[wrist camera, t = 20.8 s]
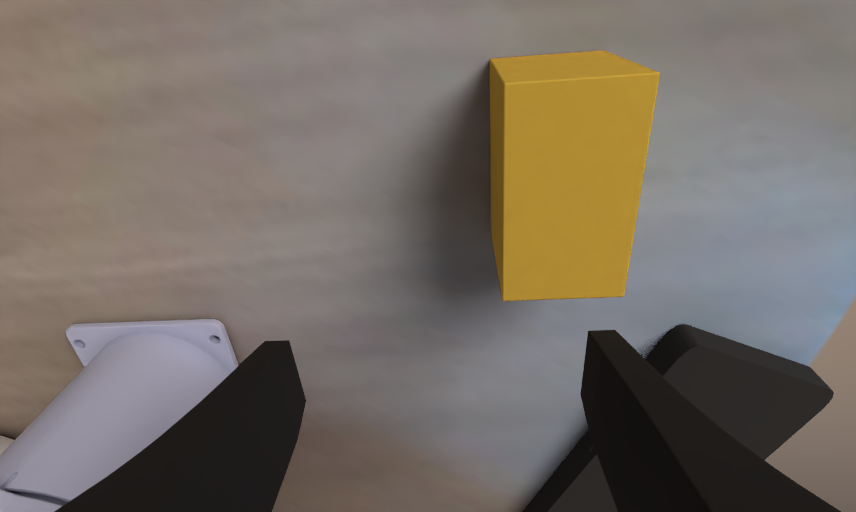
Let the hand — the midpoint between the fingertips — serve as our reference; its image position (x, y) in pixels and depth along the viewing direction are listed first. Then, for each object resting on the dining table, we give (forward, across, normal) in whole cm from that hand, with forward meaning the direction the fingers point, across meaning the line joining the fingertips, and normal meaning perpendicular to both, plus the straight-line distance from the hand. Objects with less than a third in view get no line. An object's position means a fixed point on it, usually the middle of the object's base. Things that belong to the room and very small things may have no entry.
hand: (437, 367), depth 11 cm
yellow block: (+9, -4, -2) cm, 10 cm away
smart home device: (+8, -6, +26) cm, 28 cm away
